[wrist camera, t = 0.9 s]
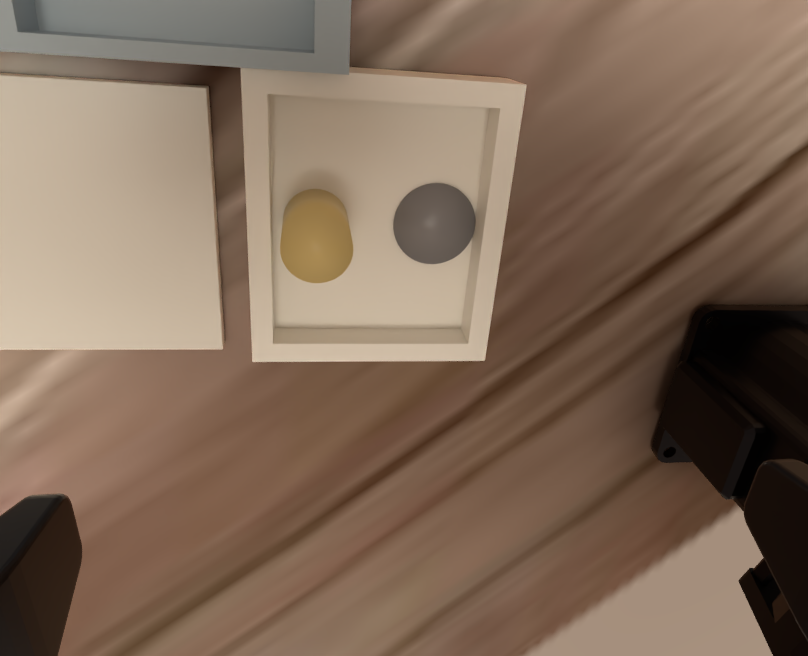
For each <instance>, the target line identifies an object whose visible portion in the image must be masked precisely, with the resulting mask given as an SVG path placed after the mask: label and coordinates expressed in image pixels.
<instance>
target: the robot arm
mask: <svg viewBox="0 0 808 656" xmlns="http://www.w3.org/2000/svg"><path fill="white" fill-rule="evenodd" d="M711 317H713V318H712V320H711V322H709V323H708V324H706V322H707V320H708V319H709V318H711ZM667 448H669V449H667ZM665 449H667V450H666V451H665ZM652 451H653V453H654V455H655V456H656V457H657V458H658V460H660V461H661V462H665V463H674V462H693V463H694V464H695V465H696V466H697V467H698V469H699V470H700V471H701V472H702V473H703V474H704V476H705V477H706V478H707V479H708V480H709V482H710V483H711V484H712V485H713V486H714V487H715V489H716V490H717V491H718V492H719V493H720V494H721V496H722V497H723V498H725V499H733V500H734V501H735V502H736V503H737V504H738V506H739V507H740V508H741V509H742V510H743V511H744V517H745V520H746V523H747V525H748V527H749V530H750V532H751V534H752V536H753V537H754V539H755V541H756V543H757V545H758V547H759V549H760V551H761V553H762V555H763V557H764V558H763V559H762V560H761V561H760V563H759V564H758V565H757V566H756V567H755V568H749V570H748V571H747V572H746V573H745V574H744V575H743V576H742V577H741V578H740V580H739V583H740V585H741V588H742V590H743V592H744V594H745V596H746V598H747V600H748V602H749V605H750V607H751V609H752V611H753V613H754V616H755V618H756V620H757V622H758V624H759V626H760V628H761V630H762V633H763V635H764V637H765V639H766V641H767V643H768V646H769V648H770V650H771V652H772V654H773V656H808V306H764V305H707V306H704V307H702V308H700V309H699V310H698V311H697V312H696V313H695V314H694V316H693V318H692V322H691V325H690V328H689V331H688V334H687V338H686V341H685V344H684V347H683V350H682V354H681V357H680V360H679V363H678V366H677V368H676V371H675V374H674V377H673V380H672V383H671V387H670V390H669V393H668V396H667V399H666V403H665V406H664V409H663V412H662V415H661V419H660V424H659V427H658V430H657V433H656V436H655V440H654V443H653V446H652ZM81 560H82V544H81V539H80V535H79V531H78V527H77V523H76V519H75V515H74V511H73V507H72V504H71V501H70V499H69V498H68V496H66V495H64V494H42V495H32V496H28V497H26V498H24V499H23V500H21V501H20V502H19V503H17V504H16V505H14V506H13V507H12V508H10V509H9V510H8V511H6V512H5V513H3V514H2V515H1V516H0V656H58V652H59V648H60V645H61V641H62V637H63V633H64V629H65V625H66V621H67V617H68V613H69V609H70V605H71V601H72V597H73V593H74V590H75V586H76V582H77V578H78V574H79V570H80V566H81Z"/></svg>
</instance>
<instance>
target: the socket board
mask: <svg viewBox="0 0 808 656" xmlns="http://www.w3.org/2000/svg"><path fill="white" fill-rule="evenodd" d="M350 30H351V0H0V51H2V52H17V53H32V54H47V55H62V56H76V57H91V58H106V59H121V60H136V61H151V62H165V63H180V64H195V65H210V66H225V67H239V68H254V69H269V70H284V71H299V72H314V73H328V74H343V75H349V61H350Z"/></svg>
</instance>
